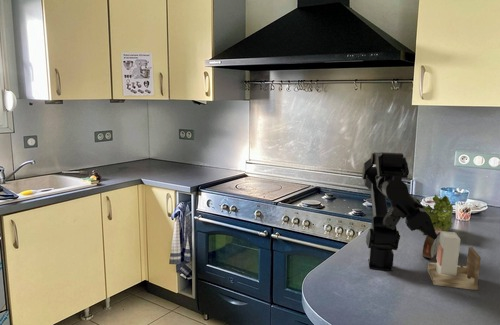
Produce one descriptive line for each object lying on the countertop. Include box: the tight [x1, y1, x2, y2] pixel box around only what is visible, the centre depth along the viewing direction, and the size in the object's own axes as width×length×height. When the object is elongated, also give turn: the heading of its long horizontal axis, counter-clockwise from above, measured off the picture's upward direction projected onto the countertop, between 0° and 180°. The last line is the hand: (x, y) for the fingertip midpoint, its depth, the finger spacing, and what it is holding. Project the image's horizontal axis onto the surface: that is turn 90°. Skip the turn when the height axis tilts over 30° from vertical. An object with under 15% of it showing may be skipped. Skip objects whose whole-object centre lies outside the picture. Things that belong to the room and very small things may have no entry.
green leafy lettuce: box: [417, 194, 454, 235], centre depth 158 cm, size 18×16×16 cm
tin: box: [422, 228, 444, 260], centre depth 137 cm, size 15×3×8 cm, turn 141°
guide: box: [426, 246, 482, 291], centre depth 119 cm, size 11×10×9 cm
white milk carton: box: [435, 231, 462, 276], centre depth 119 cm, size 4×6×12 cm
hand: (433, 234), depth 119 cm, fingers open, 7 cm apart
